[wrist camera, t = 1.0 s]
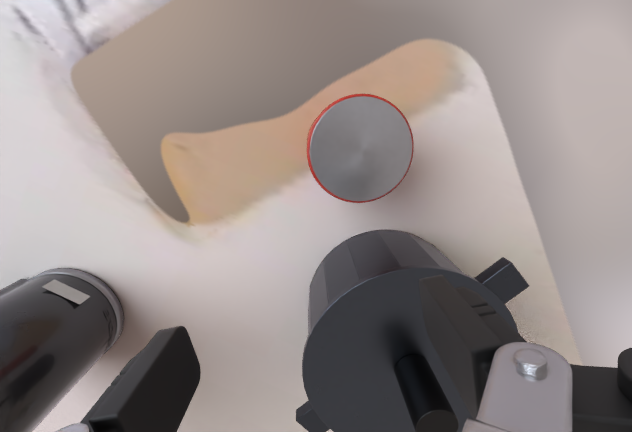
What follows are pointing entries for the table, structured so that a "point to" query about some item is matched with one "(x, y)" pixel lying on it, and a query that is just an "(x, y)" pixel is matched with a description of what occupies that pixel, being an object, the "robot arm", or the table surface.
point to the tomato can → (360, 148)
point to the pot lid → (385, 357)
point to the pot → (381, 254)
